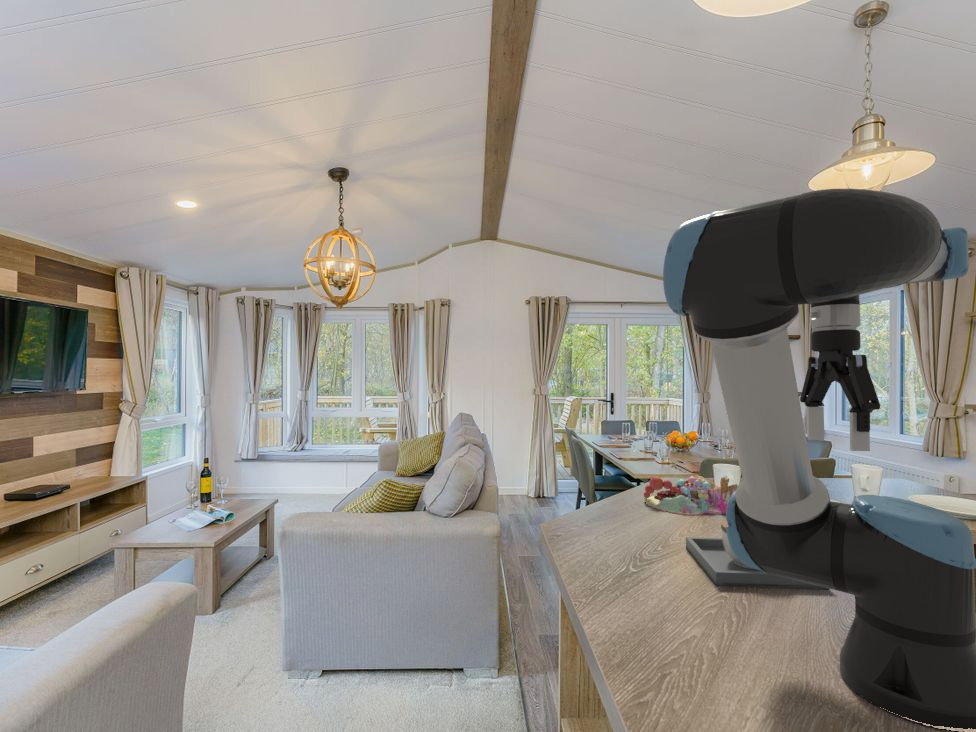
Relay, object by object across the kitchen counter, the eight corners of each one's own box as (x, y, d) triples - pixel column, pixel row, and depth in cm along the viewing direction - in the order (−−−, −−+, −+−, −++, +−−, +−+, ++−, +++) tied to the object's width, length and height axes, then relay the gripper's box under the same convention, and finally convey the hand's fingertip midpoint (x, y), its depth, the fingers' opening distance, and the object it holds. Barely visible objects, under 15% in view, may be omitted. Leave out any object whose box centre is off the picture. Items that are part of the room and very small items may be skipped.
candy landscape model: (679, 492, 168) (678, 464, 168) (751, 507, 150) (751, 476, 150) (633, 504, 153) (632, 474, 153) (707, 523, 134) (707, 488, 134)
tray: (829, 589, 93) (829, 576, 93) (715, 585, 95) (715, 572, 95) (778, 550, 113) (778, 539, 113) (685, 548, 115) (685, 537, 115)
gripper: (780, 334, 106) (781, 436, 106) (856, 323, 81) (857, 455, 81) (818, 334, 105) (819, 436, 105) (906, 323, 80) (907, 456, 80)
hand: (836, 445), depth 93 cm, fingers open, 13 cm apart
